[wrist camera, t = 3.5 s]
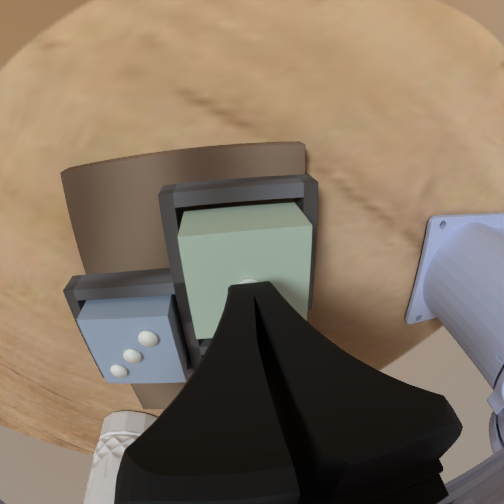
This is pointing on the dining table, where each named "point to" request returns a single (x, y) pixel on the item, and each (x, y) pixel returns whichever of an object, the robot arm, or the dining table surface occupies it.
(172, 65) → the dining table surface
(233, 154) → the board
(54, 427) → the dining table surface
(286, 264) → the tile one
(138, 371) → the tile three
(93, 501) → the white cup
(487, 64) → the dining table surface
